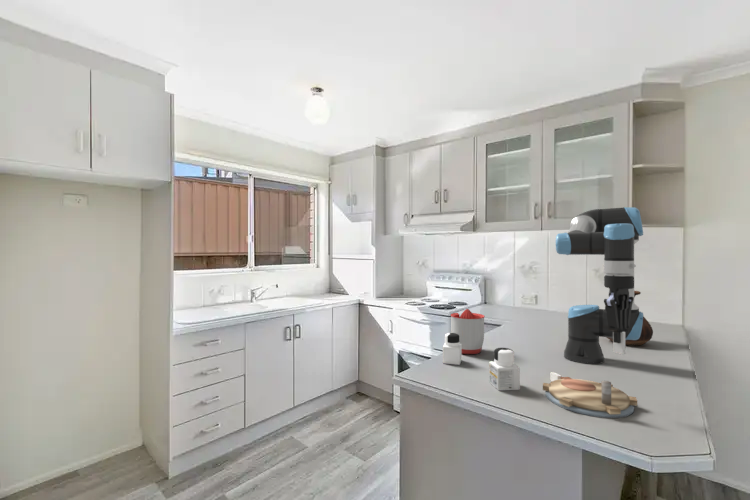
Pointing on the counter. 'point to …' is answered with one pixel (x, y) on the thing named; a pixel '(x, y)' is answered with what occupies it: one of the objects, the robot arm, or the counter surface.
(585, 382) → the index wheel
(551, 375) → the wheel base
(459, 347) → the medicine bottle
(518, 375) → the container
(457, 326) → the citrus juicer
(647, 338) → the jug
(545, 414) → the counter surface
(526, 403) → the counter surface
